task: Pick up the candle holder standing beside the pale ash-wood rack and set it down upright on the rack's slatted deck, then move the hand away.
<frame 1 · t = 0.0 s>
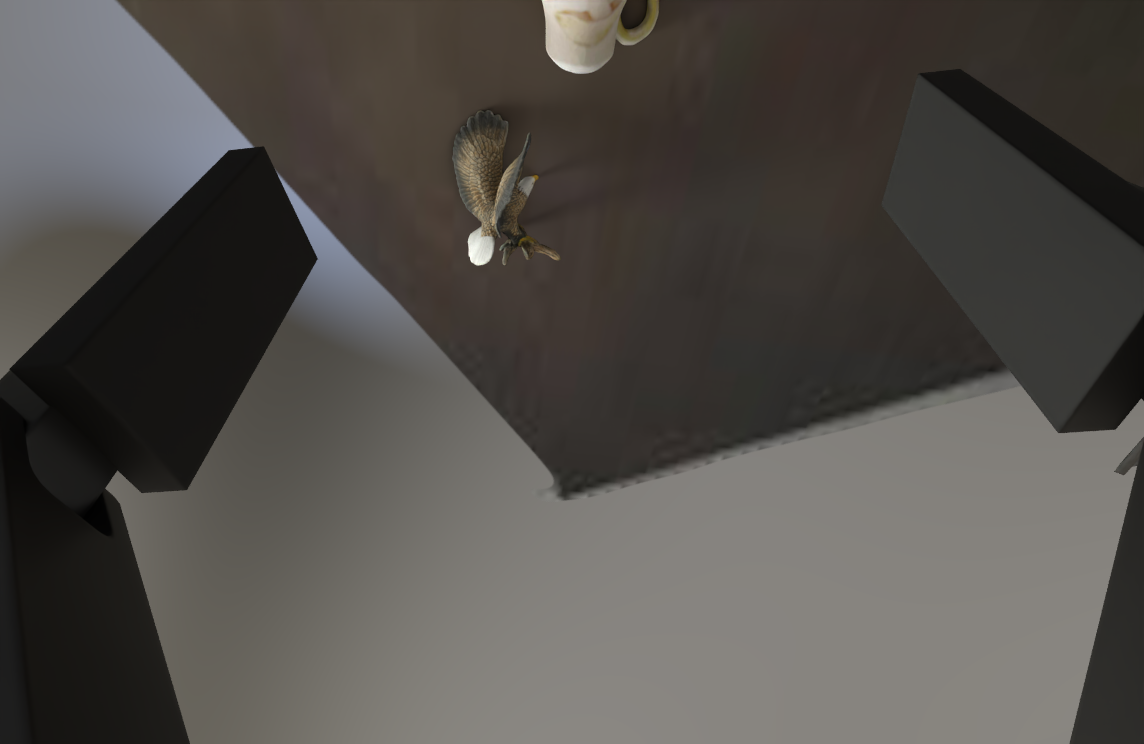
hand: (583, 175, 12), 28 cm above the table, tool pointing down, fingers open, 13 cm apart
eagle figurine: (507, 176, 42), on the table
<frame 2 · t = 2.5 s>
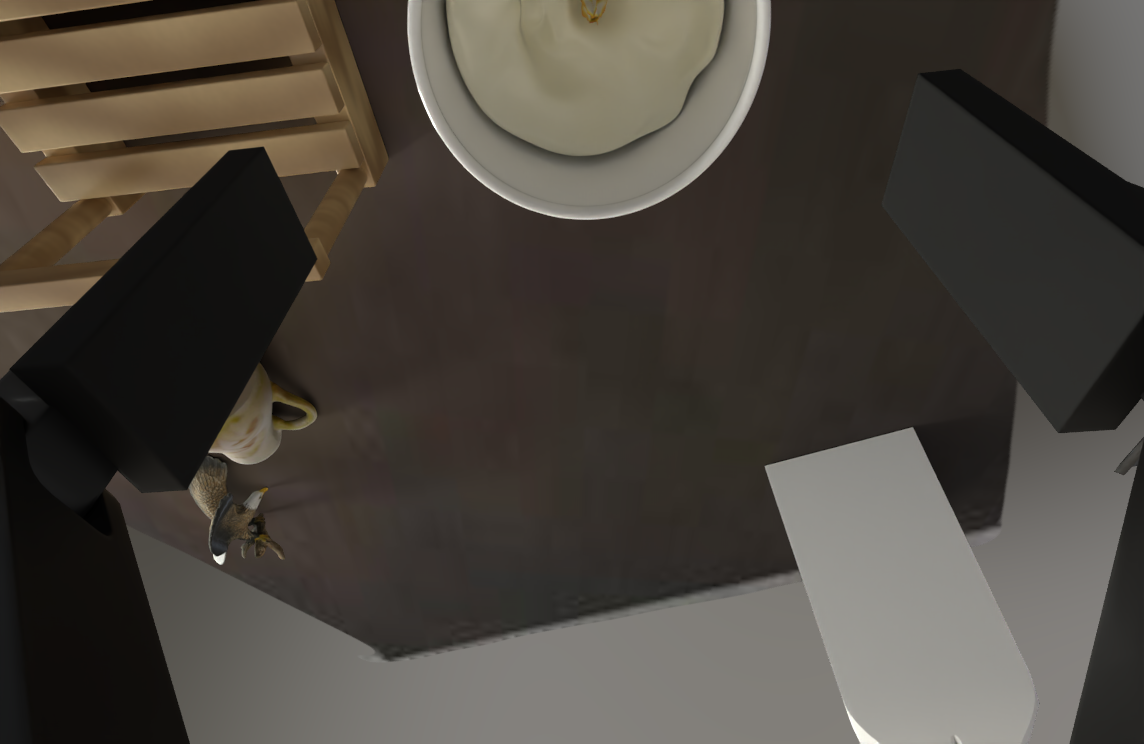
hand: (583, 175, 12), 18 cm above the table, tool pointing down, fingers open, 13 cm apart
milk: (845, 484, 51), on the table
mug: (252, 383, 42), on the table
eagle figurine: (243, 486, 51), on the table
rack: (184, 38, 26), on the table
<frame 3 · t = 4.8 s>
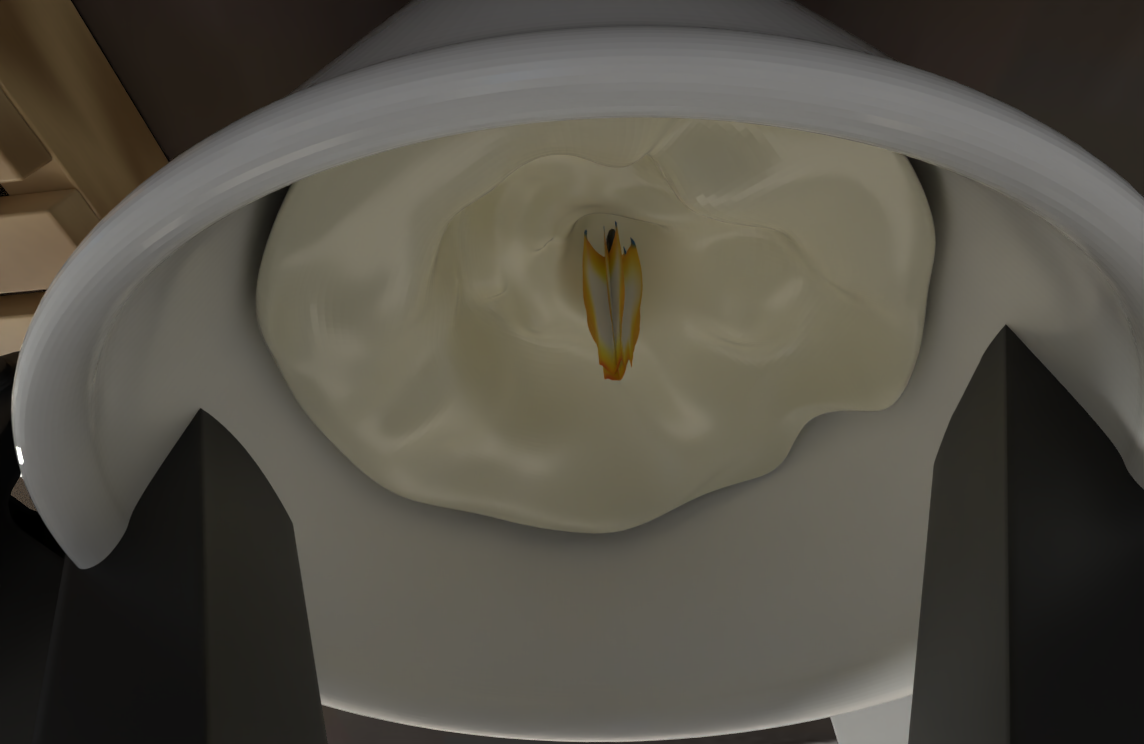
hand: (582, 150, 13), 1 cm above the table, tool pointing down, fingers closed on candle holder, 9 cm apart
milk: (911, 674, 41), on the table
candle holder: (586, 121, 14), on the table, touching gripper
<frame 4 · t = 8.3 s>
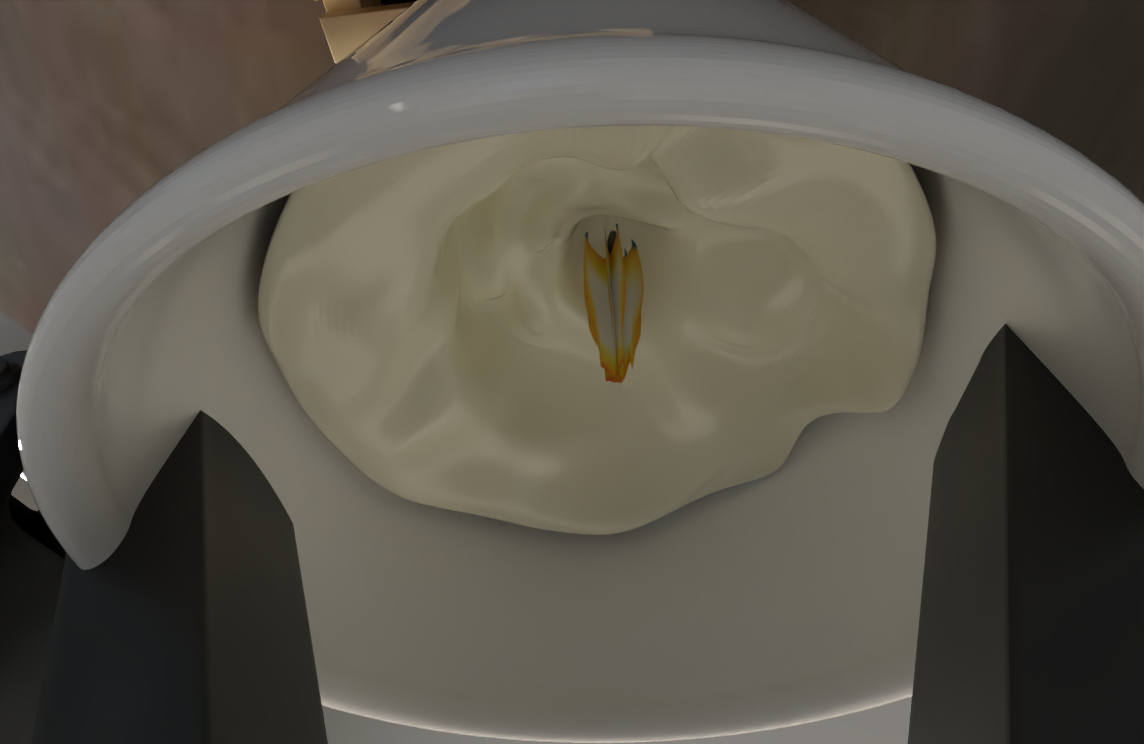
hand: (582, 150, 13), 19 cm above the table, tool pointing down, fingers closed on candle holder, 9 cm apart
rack: (503, 15, 28), on the table
candle holder: (587, 122, 15), point 17 cm above the table, touching gripper
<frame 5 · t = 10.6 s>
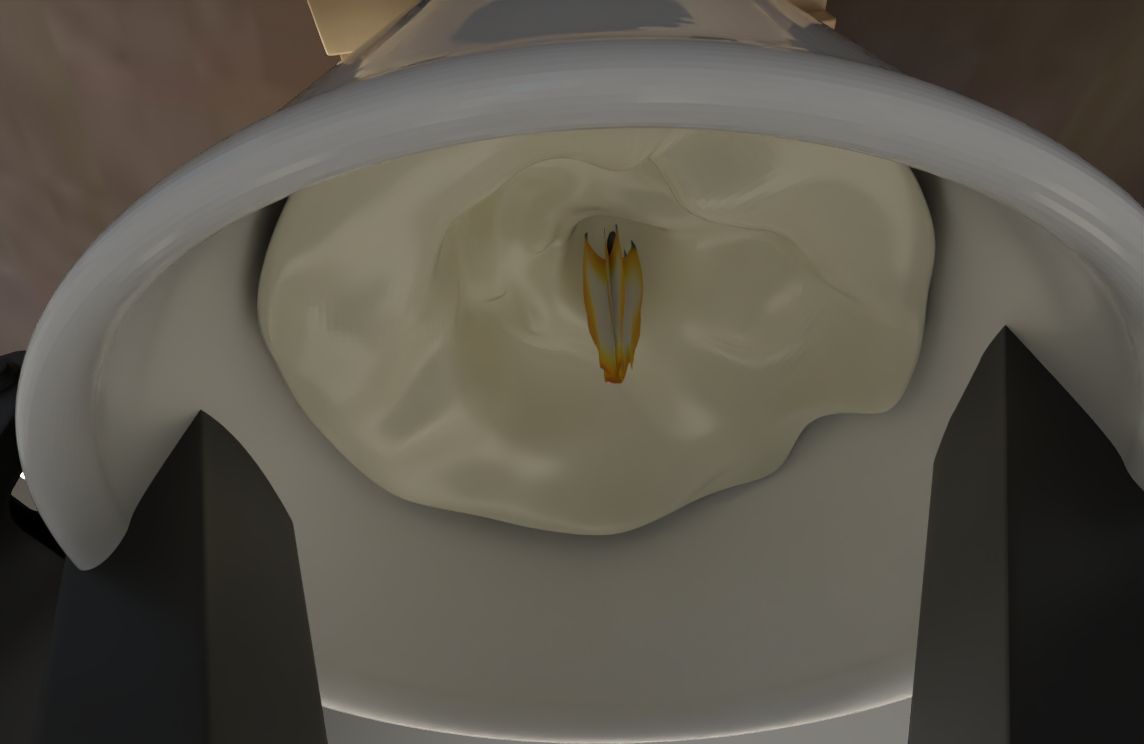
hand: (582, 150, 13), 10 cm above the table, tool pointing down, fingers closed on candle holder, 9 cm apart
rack: (581, 61, 21), on the table
candle holder: (587, 123, 15), point 8 cm above the table, touching gripper
when the fingers open (5 cm above the table, at t = 12.3 s): candle holder stays where it is, resting on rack.
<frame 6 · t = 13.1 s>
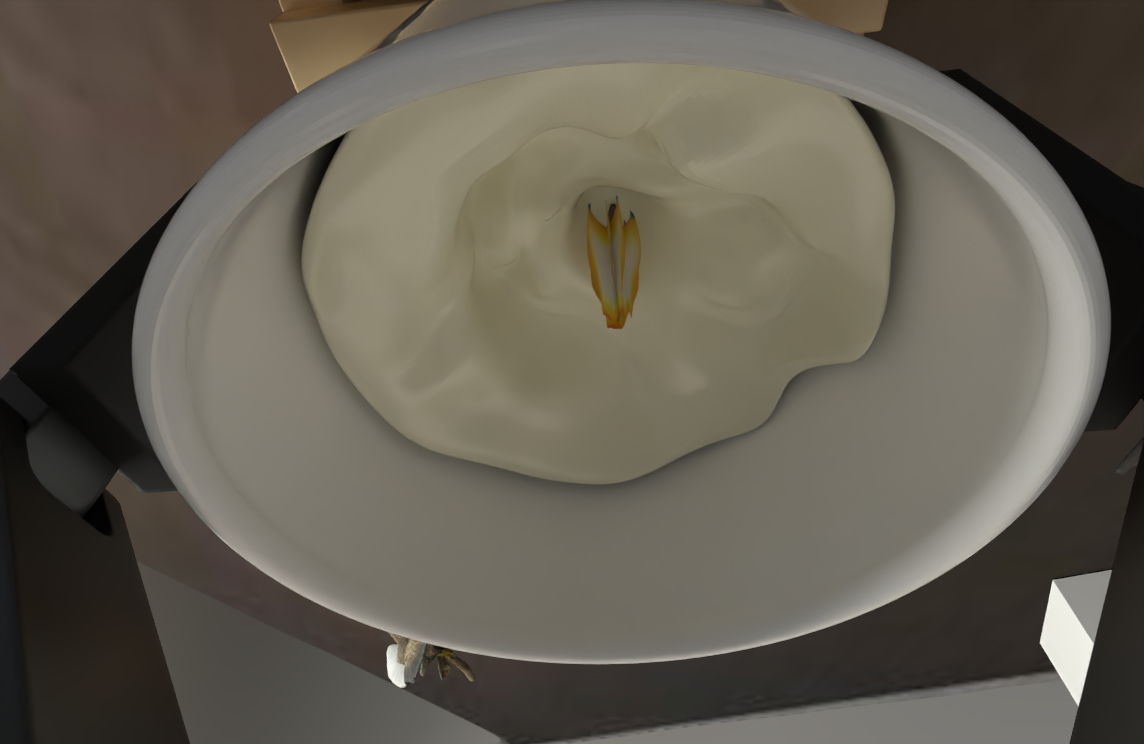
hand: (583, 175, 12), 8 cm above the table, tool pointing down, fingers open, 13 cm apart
milk: (1133, 597, 43), on the table
eagle figurine: (424, 592, 43), on the table
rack: (585, 98, 19), on the table
candle holder: (588, 111, 16), point 4 cm above the table, touching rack
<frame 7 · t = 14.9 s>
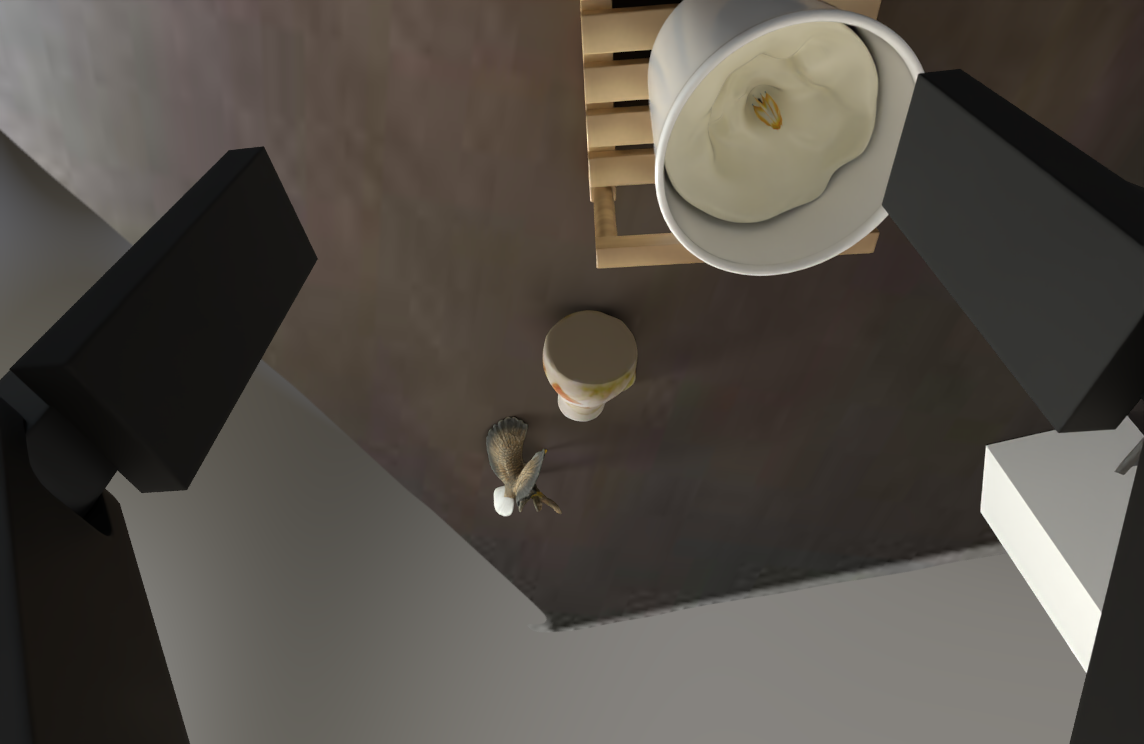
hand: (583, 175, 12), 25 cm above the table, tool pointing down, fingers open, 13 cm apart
milk: (1045, 465, 59), on the table
mug: (589, 351, 49), on the table
eagle figurine: (524, 448, 58), on the table
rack: (709, 66, 34), on the table
candle holder: (726, 67, 31), point 4 cm above the table, touching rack
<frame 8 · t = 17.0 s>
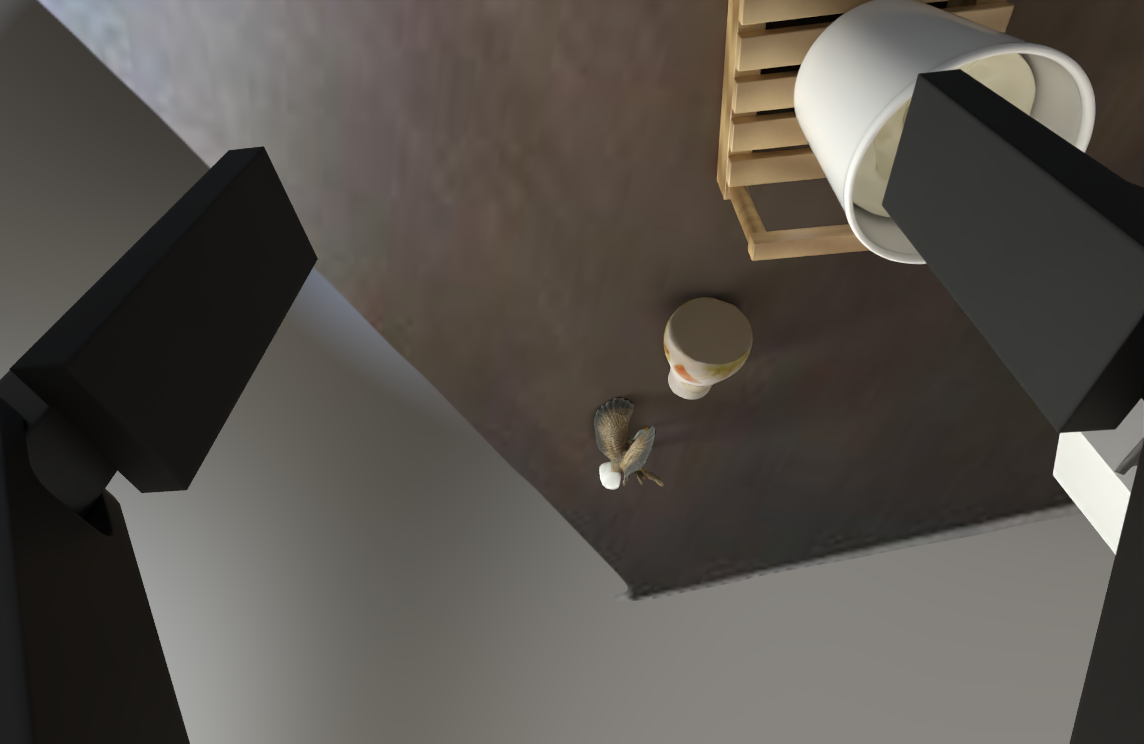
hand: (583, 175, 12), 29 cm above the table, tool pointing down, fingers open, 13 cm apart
milk: (1119, 429, 62), on the table
mug: (698, 335, 53), on the table
eagle figurine: (626, 426, 62), on the table
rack: (837, 73, 38), on the table
candle holder: (864, 77, 34), point 4 cm above the table, touching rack
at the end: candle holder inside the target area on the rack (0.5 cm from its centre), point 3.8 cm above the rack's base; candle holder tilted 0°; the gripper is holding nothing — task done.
